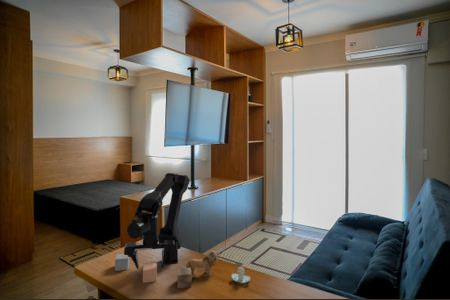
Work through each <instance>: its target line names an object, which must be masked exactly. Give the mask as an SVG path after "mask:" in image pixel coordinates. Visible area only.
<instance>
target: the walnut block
mask: <svg viewBox="0 0 450 300" xmlns="http://www.w3.org/2000/svg"><path fill="white" fill-rule="evenodd" d="M192 277H193V276H192V274H191V268H186V267H181V268H179V267H178V268H177V280H176V281H177V282H176V283H177V289H181V288H182V289H184V288H191V287H192V281H193V280H192Z"/></svg>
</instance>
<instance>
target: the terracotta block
mask: <svg viewBox="0 0 450 300" xmlns="http://www.w3.org/2000/svg"><path fill="white" fill-rule="evenodd" d="M157 275H158V262H151V263H144V264H143V269H142V283H155V282H157V279H158V277H157Z"/></svg>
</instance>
